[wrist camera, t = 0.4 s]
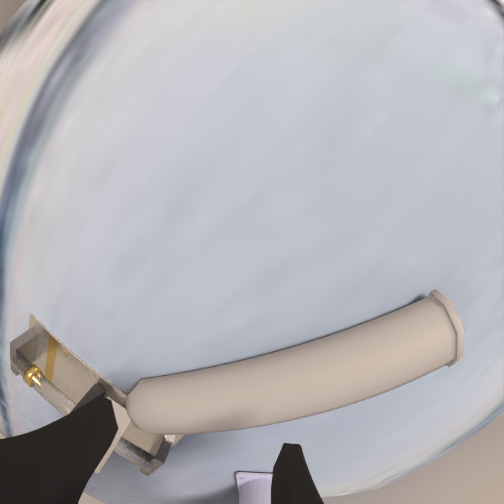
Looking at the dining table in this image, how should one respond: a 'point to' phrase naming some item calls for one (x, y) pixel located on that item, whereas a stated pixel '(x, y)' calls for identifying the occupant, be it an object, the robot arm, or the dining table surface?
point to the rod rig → (80, 390)
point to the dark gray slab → (90, 396)
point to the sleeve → (122, 424)
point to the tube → (303, 375)
